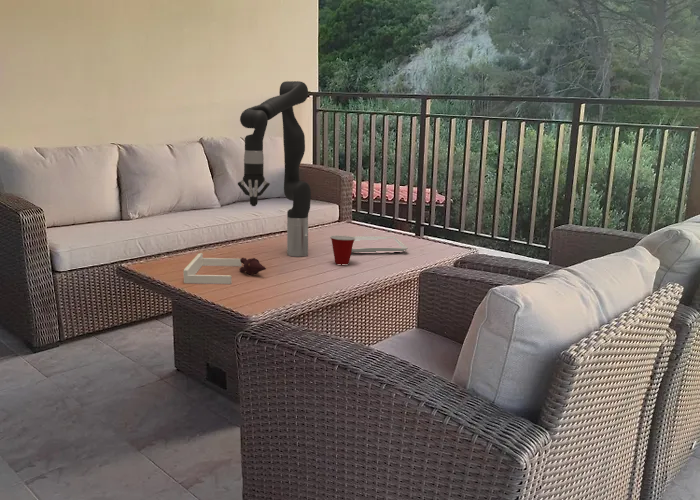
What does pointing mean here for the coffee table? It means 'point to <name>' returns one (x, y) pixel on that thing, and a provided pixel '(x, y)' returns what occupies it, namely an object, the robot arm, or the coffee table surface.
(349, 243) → the plastic cup
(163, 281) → the coffee table surface
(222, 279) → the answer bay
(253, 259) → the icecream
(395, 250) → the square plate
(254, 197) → the robot arm
